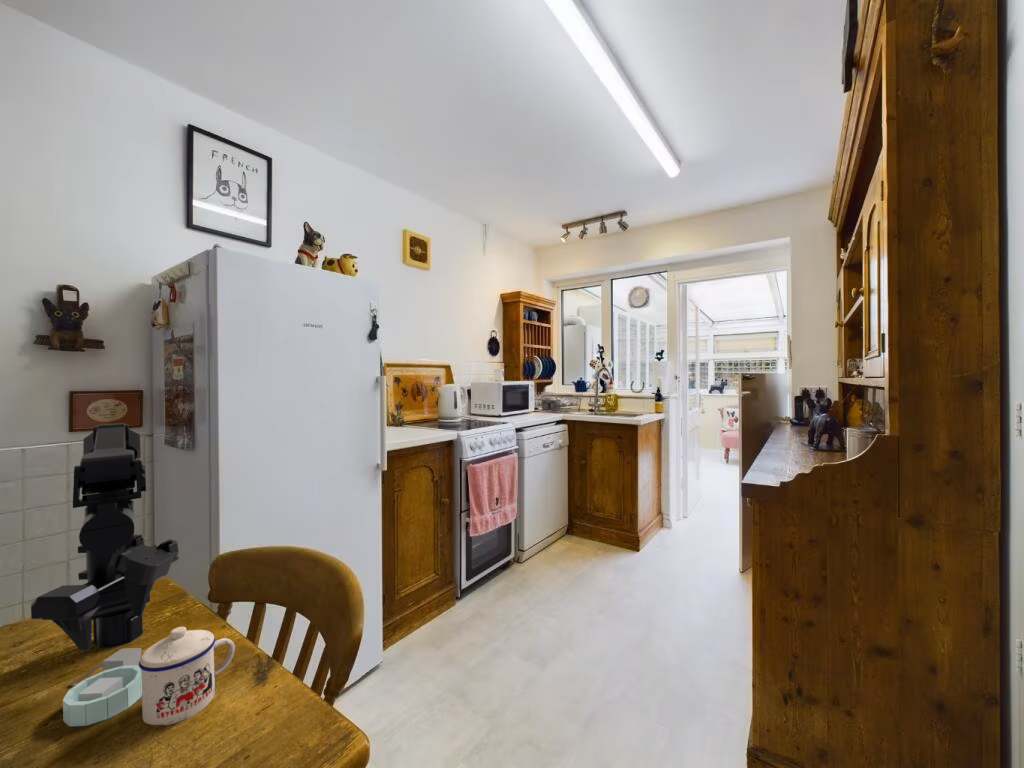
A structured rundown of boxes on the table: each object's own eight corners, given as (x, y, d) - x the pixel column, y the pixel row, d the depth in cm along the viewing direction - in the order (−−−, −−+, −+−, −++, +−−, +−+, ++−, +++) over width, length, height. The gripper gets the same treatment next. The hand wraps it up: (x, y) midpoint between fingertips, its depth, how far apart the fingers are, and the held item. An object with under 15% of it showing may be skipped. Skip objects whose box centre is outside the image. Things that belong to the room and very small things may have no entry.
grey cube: (103, 682, 71) (102, 661, 71) (122, 668, 74) (121, 648, 74) (123, 681, 71) (123, 660, 71) (141, 667, 74) (141, 648, 74)
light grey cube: (78, 717, 63) (78, 694, 63) (100, 700, 66) (99, 678, 66) (102, 716, 63) (102, 692, 63) (123, 699, 66) (122, 677, 66)
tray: (68, 691, 69) (68, 685, 69) (108, 662, 76) (107, 657, 76) (121, 688, 69) (121, 682, 69) (156, 660, 76) (156, 655, 76)
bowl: (46, 731, 61) (45, 706, 61) (103, 689, 69) (102, 666, 69) (108, 729, 61) (108, 703, 61) (157, 686, 70) (156, 664, 70)
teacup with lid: (152, 741, 59) (149, 655, 59) (132, 713, 64) (129, 634, 64) (247, 689, 68) (245, 615, 68) (223, 668, 74) (221, 600, 74)
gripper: (107, 557, 59) (110, 670, 59) (203, 514, 78) (205, 600, 78) (25, 559, 59) (28, 672, 59) (141, 515, 78) (143, 601, 78)
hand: (113, 631), depth 69 cm, fingers open, 9 cm apart
